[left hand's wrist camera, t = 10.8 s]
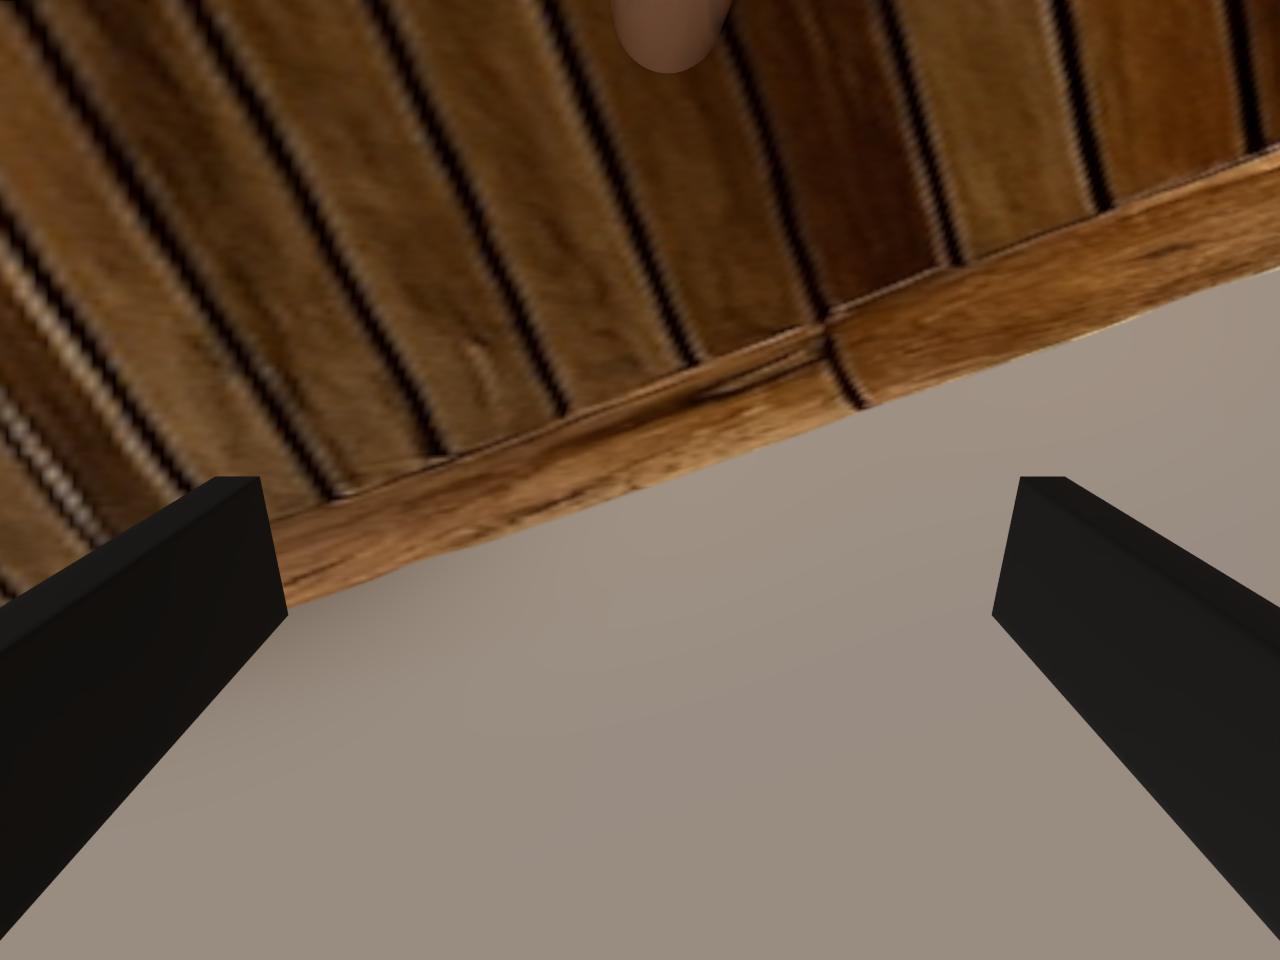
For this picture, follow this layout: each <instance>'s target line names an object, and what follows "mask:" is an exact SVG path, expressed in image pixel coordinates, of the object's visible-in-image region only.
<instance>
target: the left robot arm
mask: <svg viewBox="0 0 1280 960" xmlns="http://www.w3.org/2000/svg"><path fill="white" fill-rule="evenodd" d="M1 1H17V0H1ZM287 616H288V611H287V606H286V601H285V596H284V592H283V587H282V582H281V577H280V572H279V567H278V563H277V558H276V553H275V548H274V543H273V538H272V534H271V529H270V524H269V519H268V514H267V510H266V505H265V500H264V495H263V490H262V485H261V481H260V477H214V478H212V479H210V480H209V481H207V482H206V483H204V484H202V485H201V486H199V487H197V488H196V489H194V490H192V491H191V492H189V493H187V494H186V495H184V496H183V497H181V498H179V499H178V500H176V501H174V502H173V503H171V504H169V505H168V506H166V507H164V508H163V509H161V510H160V511H158V512H156V513H155V514H153V515H151V516H150V517H148V518H146V519H145V520H143V521H142V522H140V523H138V524H137V525H135V526H133V527H132V528H130V529H128V530H127V531H125V532H123V533H122V534H120V535H119V536H117V537H115V538H114V539H112V540H110V541H109V542H107V543H105V544H104V545H102V546H100V547H99V548H97V549H96V550H94V551H92V552H91V553H89V554H87V555H86V556H84V557H82V558H81V559H79V560H78V561H76V562H74V563H73V564H71V565H69V566H68V567H66V568H64V569H63V570H61V571H59V572H58V573H56V574H55V575H53V576H51V577H50V578H48V579H46V580H45V581H43V582H41V583H40V584H38V585H36V586H35V587H33V588H32V589H30V590H28V591H27V592H25V593H23V594H22V595H20V596H18V597H17V598H15V599H13V600H12V601H10V602H9V603H7V604H5V605H4V606H2V607H0V940H1V939H2V938H3V937H4V936H5V934H6V933H7V932H8V931H9V930H10V929H11V928H12V927H13V925H14V924H15V923H16V922H17V921H18V920H19V919H20V918H21V916H22V915H23V914H24V913H25V912H26V911H27V910H28V909H29V907H30V906H31V905H32V904H33V903H34V902H35V901H36V899H37V898H38V897H39V896H40V895H41V894H42V893H43V892H44V890H45V889H46V888H47V887H48V886H49V885H50V884H51V883H52V881H53V880H54V879H55V878H56V877H57V876H58V875H59V873H60V872H61V871H62V870H63V869H64V868H65V867H66V866H67V864H68V863H69V862H70V861H71V860H72V859H73V858H74V856H75V855H76V854H77V853H78V852H79V851H80V850H81V849H82V848H83V846H84V845H85V844H86V843H87V842H88V841H89V840H90V838H91V837H92V836H93V835H94V834H95V833H96V832H97V831H98V829H99V828H100V827H101V826H102V825H103V824H104V823H105V822H106V820H107V819H108V818H109V817H110V816H111V815H112V814H113V812H114V811H115V810H116V809H117V808H118V807H119V806H120V805H121V803H122V802H123V801H124V800H125V799H126V798H127V797H128V796H129V794H130V793H131V792H132V791H133V790H134V789H135V788H136V787H137V785H138V784H139V783H140V782H141V781H142V780H143V779H144V777H145V776H146V775H147V774H148V773H149V772H150V771H151V770H152V768H153V767H154V766H155V765H156V764H157V763H158V762H159V761H160V759H161V758H162V757H163V756H164V755H165V754H166V753H167V751H168V750H169V749H170V748H171V747H172V746H173V745H174V744H175V742H176V741H177V740H178V739H179V738H180V737H181V736H182V735H183V733H184V732H185V731H186V730H187V729H188V728H189V727H190V726H191V724H192V723H193V722H194V721H195V720H196V719H197V718H198V716H199V715H200V714H201V713H202V712H203V711H204V710H205V709H206V707H207V706H208V705H209V704H210V703H211V702H212V701H213V699H214V698H215V697H216V696H217V695H218V694H219V693H220V692H221V690H222V689H223V688H224V687H225V686H226V685H227V684H228V683H229V681H230V680H231V679H232V678H233V677H234V676H235V675H236V674H237V672H238V671H239V670H240V669H241V668H242V667H243V666H244V665H245V663H246V662H247V661H248V660H249V659H250V658H251V657H252V655H253V654H254V653H255V652H256V651H257V650H258V649H259V648H260V646H261V645H262V644H263V643H264V642H265V641H266V640H267V639H268V637H269V636H270V635H271V634H272V633H273V632H274V631H275V630H276V628H277V627H278V626H279V625H280V624H281V623H282V622H283V620H284V619H285V618H286V617H287ZM992 616H993V617H994V618H995V619H996V620H997V622H998V623H999V624H1000V625H1001V626H1002V627H1003V628H1004V630H1005V631H1006V632H1007V633H1008V634H1009V635H1010V636H1011V637H1012V638H1013V640H1014V641H1015V642H1016V643H1017V644H1018V645H1019V646H1020V648H1021V649H1022V650H1023V651H1024V652H1025V653H1026V654H1027V655H1028V657H1029V658H1030V659H1031V660H1032V661H1033V662H1034V663H1035V665H1036V666H1037V667H1038V668H1039V669H1040V670H1041V671H1042V672H1043V674H1044V675H1045V676H1046V677H1047V678H1048V679H1049V680H1050V681H1051V683H1052V684H1053V685H1054V686H1055V687H1056V688H1057V689H1058V691H1059V692H1060V693H1061V694H1062V695H1063V696H1064V697H1065V698H1066V700H1067V701H1068V702H1069V703H1070V704H1071V705H1072V706H1073V707H1074V709H1075V710H1076V711H1077V712H1078V713H1079V714H1080V715H1081V716H1082V718H1083V719H1084V720H1085V721H1086V722H1087V723H1088V724H1089V725H1090V727H1091V728H1092V729H1093V730H1094V731H1095V732H1096V733H1097V735H1098V736H1099V737H1100V738H1101V739H1102V740H1103V741H1104V742H1105V744H1106V745H1107V746H1108V747H1109V748H1110V749H1111V750H1112V751H1113V753H1114V754H1115V755H1116V756H1117V757H1118V758H1119V759H1120V760H1121V762H1122V763H1123V764H1124V765H1125V766H1126V767H1127V768H1128V770H1129V771H1130V772H1131V773H1132V774H1133V775H1134V776H1135V777H1136V779H1137V780H1138V781H1139V782H1140V783H1141V784H1142V785H1143V787H1144V788H1145V789H1146V790H1147V791H1148V792H1149V793H1150V794H1151V796H1152V797H1153V798H1154V799H1155V800H1156V801H1157V802H1158V803H1159V805H1160V806H1161V807H1162V808H1163V809H1164V810H1165V811H1166V812H1167V814H1168V815H1169V816H1170V817H1171V818H1172V819H1173V820H1174V822H1175V823H1176V824H1177V825H1178V826H1179V827H1180V828H1181V829H1182V831H1183V832H1184V833H1185V834H1186V835H1187V836H1188V837H1189V838H1190V840H1191V841H1192V842H1193V843H1194V844H1195V845H1196V846H1197V847H1198V849H1199V850H1200V851H1201V852H1202V853H1203V854H1204V855H1205V857H1206V858H1207V859H1208V860H1209V861H1210V862H1211V863H1212V864H1213V866H1214V867H1215V868H1216V869H1217V870H1218V871H1219V872H1220V873H1221V875H1222V876H1223V877H1224V878H1225V879H1226V880H1227V881H1228V882H1229V884H1230V885H1231V886H1232V887H1233V888H1234V889H1235V890H1236V892H1237V893H1238V894H1239V895H1240V896H1241V897H1242V898H1243V899H1244V901H1245V902H1246V903H1247V904H1248V905H1249V906H1250V907H1251V908H1252V910H1253V911H1254V912H1255V913H1256V914H1257V915H1258V916H1259V918H1260V919H1261V920H1262V921H1263V922H1264V923H1265V924H1266V925H1267V927H1268V928H1269V929H1270V930H1271V931H1272V932H1273V933H1274V934H1275V936H1276V937H1277V938H1278V939H1279V940H1280V607H1278V606H1276V605H1275V604H1273V603H1271V602H1270V601H1268V600H1267V599H1265V598H1263V597H1262V596H1260V595H1258V594H1257V593H1255V592H1253V591H1252V590H1250V589H1248V588H1247V587H1245V586H1243V585H1242V584H1240V583H1239V582H1237V581H1235V580H1234V579H1232V578H1230V577H1229V576H1227V575H1225V574H1224V573H1222V572H1221V571H1219V570H1217V569H1216V568H1214V567H1212V566H1211V565H1209V564H1207V563H1206V562H1204V561H1202V560H1201V559H1199V558H1198V557H1196V556H1194V555H1193V554H1191V553H1189V552H1188V551H1186V550H1184V549H1183V548H1181V547H1179V546H1178V545H1176V544H1175V543H1173V542H1171V541H1170V540H1168V539H1166V538H1165V537H1163V536H1161V535H1160V534H1158V533H1157V532H1155V531H1153V530H1152V529H1150V528H1148V527H1147V526H1145V525H1143V524H1142V523H1140V522H1138V521H1137V520H1135V519H1134V518H1132V517H1130V516H1129V515H1127V514H1125V513H1124V512H1122V511H1120V510H1119V509H1117V508H1116V507H1114V506H1112V505H1110V504H1109V503H1107V502H1106V501H1104V500H1102V499H1101V498H1099V497H1097V496H1096V495H1094V494H1092V493H1091V492H1089V491H1088V490H1086V489H1084V488H1083V487H1081V486H1079V485H1078V484H1076V483H1074V482H1073V481H1071V480H1070V479H1068V478H1066V477H1020V481H1019V486H1018V490H1017V495H1016V500H1015V505H1014V510H1013V514H1012V519H1011V524H1010V529H1009V534H1008V538H1007V543H1006V548H1005V553H1004V558H1003V563H1002V568H1001V572H1000V577H999V582H998V587H997V592H996V596H995V601H994V606H993V611H992Z"/></svg>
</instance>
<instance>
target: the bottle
mask: <svg viewBox="0 0 1280 960" xmlns="http://www.w3.org/2000/svg"><path fill="white" fill-rule="evenodd" d="M610 2H611V8H612V15H613V21H614V26H615V29H616V33H617V35H618V38H619V40H620V42H621V44H622V46H623V47H624V49H625V50H626V52H627V53H628V54H629V55H630V56H631V57H632V59H634V60H635V61H636V62H637V63H638V64H640V65H642V66H643V67H645V68H647V69H649V70H652V71H655V72H659V73H676V72H681V71H684V70H687V69H689V68H691V67H693V66H694V65H696V64H697V63H699V62H700V61H701V60H702V59H704V58H705V57H706V55H707V54H708V53H709V52H710V51H711V49H712V48H713V46H714V45H715V43H716V41H717V39H718V37H719V35H720V32H721V29H722V27H723V24H724V21H725V19H726V16H727V14H728V11H729V8H730V6H731V3H732V0H610Z"/></svg>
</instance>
